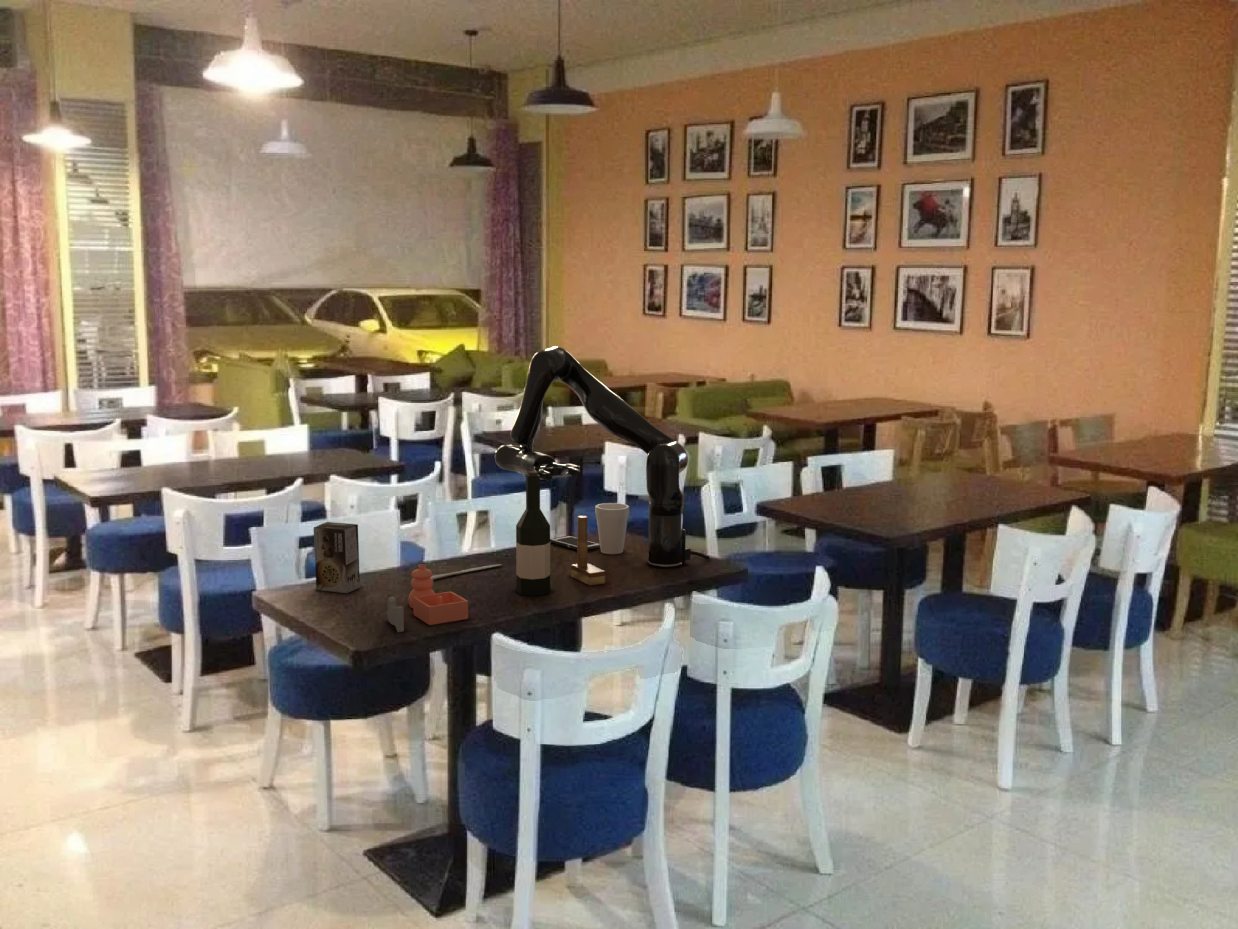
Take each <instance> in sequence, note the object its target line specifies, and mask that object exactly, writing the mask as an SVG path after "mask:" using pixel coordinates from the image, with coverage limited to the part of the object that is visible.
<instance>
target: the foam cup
mask: <svg viewBox="0 0 1238 929" xmlns="http://www.w3.org/2000/svg"><path fill="white" fill-rule="evenodd" d="M594 507H595V509H594V510H595V513H594V515H595V518H596V524H597V532H598V541H599V542H598V543H599V544H600V547H599V549H600V552H601V553H602V554H606V555H618V554H622V553H623V552H624V547H625V541H626V533H627V527H628V519H629V515H630V506H629V505H628V504H625V503H620V502H603V503H599V504H596V505H595V506H594Z"/></svg>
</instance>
